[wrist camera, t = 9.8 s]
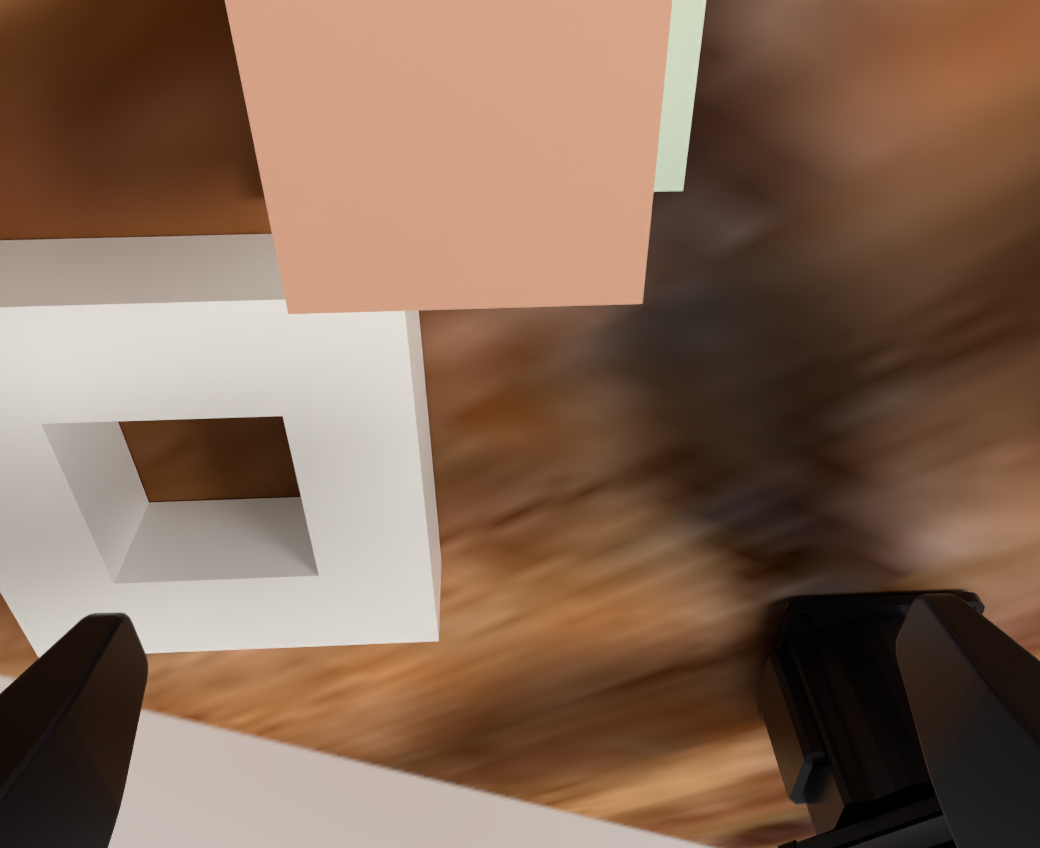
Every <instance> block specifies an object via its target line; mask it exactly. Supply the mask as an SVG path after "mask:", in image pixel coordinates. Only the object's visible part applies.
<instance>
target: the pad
mask: <svg viewBox="0 0 1040 848" xmlns="http://www.w3.org/2000/svg"><path fill="white" fill-rule="evenodd" d="M705 7H706V0H672V9H671V20H670V30H669V40H668V50H667V60H666V70H665V81H664V91H663V101H662V111H661V121H660V131H659V142H658V152H657V162H656V172H655V182H654V192H661V191H683V187H684V179H685V171H686V163H687V154H688V146H689V138H690V130H691V122H692V114H693V105H694V97H695V89H696V81H697V73H698V64H699V56H700V48H701V40H702V32H703V23H704V15H705Z"/></svg>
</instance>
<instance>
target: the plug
mask: <svg viewBox="0 0 1040 848" xmlns="http://www.w3.org/2000/svg"><path fill="white" fill-rule="evenodd" d="M225 5H226V10H227V14H228V19H229V24H230V29H231V34H232V39H233V44H234V49H235V54H236V59H237V64H238V69H239V73H240V78H241V83H242V88H243V93H244V98H245V103H246V108H247V113H248V118H249V123H250V128H251V133H252V137H253V142H254V147H255V152H256V157H257V162H258V167H259V172H260V177H261V182H262V187H263V192H264V197H265V201H266V206H267V211H268V216H269V221H270V226H271V231H272V236H273V241H274V246H275V251H276V256H277V261H278V265H279V270H280V275H281V280H282V285H283V290H284V295H285V300H286V305H287V310H288V314H310V313H345V312H380V311H415V310H449V309H484V308H519V307H554V306H589V305H623V304H643V294H644V284H645V274H646V264H647V253H648V243H649V233H650V223H651V213H652V203H653V192H654V182H655V172H656V162H657V152H658V142H659V131H660V121H661V111H662V101H663V91H664V81H665V70H666V60H667V50H668V40H669V30H670V20H671V9H672V0H225Z"/></svg>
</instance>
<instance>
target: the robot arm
mask: <svg viewBox="0 0 1040 848" xmlns="http://www.w3.org/2000/svg"><path fill="white" fill-rule="evenodd" d="M984 608H985V607H984V605H983V603H982V602H981V600H980V598H979V597H978V595H977V594H975V593H971V592H961V593H936V594H912V595H887V596H863V597H838V598H813V599H800V600H797V601H794V602H792V603H791V604H790V605H789V606H788V607H787V609H786V612H785V615H784V618H783V622H782V625H781V628H780V632H779V635H778V638H777V642H776V645H775V648H774V649H773V650H772V651H771V653H770V654H769V655H768V658H767V662H766V665H765V668H764V672H763V675H762V679H761V682H760V685H759V689H758V692H757V698H758V710H759V714H760V717H761V718H762V720H764V721H765V724H766V727H767V731H768V734H769V737H770V740H771V744H772V747H773V750H774V753H775V757H776V760H777V763H778V766H779V769H780V773H781V776H782V779H783V782H784V786H785V789H786V792H787V795H788V798H789V799H790V800H791V801H793V802H794V803H795V804H796V805H803V804H806V805H807V808H808V811H809V814H810V817H811V820H812V823H813V826H814V829H815V832H816V836H813V837H810V838H807V839H805V840H802V841H799V842H797V841H796V840H792V841H789V842H786V843H783V844H781V845H779V846H778V848H1040V661H1039V660H1038V659H1037V658H1036V657H1034V656H1033V655H1032V654H1031V653H1029V652H1028V651H1027V650H1026V649H1024V648H1023V647H1022V646H1021V645H1019V644H1018V643H1017V642H1016V641H1014V640H1013V639H1012V638H1011V637H1009V636H1008V635H1007V634H1005V633H1004V632H1003V631H1002V630H1000V629H999V628H998V627H997V626H995V625H994V624H993V623H992V622H990V621H989V620H988V619H987V618H985V617H984V616H983V615H982V613H983V611H984ZM147 677H148V661H147V657H146V654H145V651H144V649H143V646H142V644H141V642H140V639H139V637H138V635H137V632H136V630H135V627H134V625H133V623H132V621H131V619H130V617H129V616H128V615H126V614H125V613H93V614H89V615H87V616H86V617H84V618H82V619H81V620H80V621H79V622H78V623H77V624H76V625H74V626H73V627H72V628H71V629H70V630H69V631H68V632H67V633H66V634H65V635H64V636H63V637H61V638H60V639H59V640H58V641H57V642H56V643H55V644H54V645H53V646H52V647H51V648H50V649H48V650H47V651H46V652H45V653H44V654H43V655H42V656H41V657H40V658H39V659H38V660H37V661H35V662H34V663H33V664H32V665H31V666H30V667H29V668H28V669H27V670H26V671H25V672H23V673H22V674H21V675H20V676H19V677H18V678H17V679H16V680H15V681H14V682H13V683H12V684H11V685H9V686H8V687H7V688H6V689H5V690H4V691H3V692H2V693H1V694H0V848H108V845H109V842H110V839H111V836H112V833H113V830H114V826H115V823H116V819H117V816H118V813H119V809H120V806H121V801H122V797H123V793H124V788H125V784H126V778H127V774H128V769H129V764H130V760H131V755H132V750H133V745H134V740H135V735H136V730H137V726H138V721H139V716H140V711H141V707H142V702H143V697H144V692H145V687H146V682H147Z"/></svg>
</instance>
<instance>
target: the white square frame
mask: <svg viewBox="0 0 1040 848" xmlns="http://www.w3.org/2000/svg"><path fill="white" fill-rule="evenodd" d="M272 416H283V420H284V425H285V429H286V433H287V438H288V442H289V447H290V451H291V455H292V460H293V464H294V469H295V473H296V477H297V482H298V486H299V491H300V495H301V497H288V498H260V499H232V500H204V501H175V502H149V501H148V499H147V496H146V494H145V491H144V488H143V486H142V483H141V480H140V478H139V475H138V473H137V470H136V467H135V465H134V462H133V460H132V457H131V454H130V452H129V449H128V446H127V444H126V441H125V439H124V436H123V433H122V431H121V428H120V426H119V423H118V421H148V420H179V419H210V418H241V417H272ZM440 588H441V551H440V540H439V529H438V518H437V507H436V496H435V485H434V474H433V463H432V452H431V441H430V430H429V418H428V407H427V396H426V385H425V374H424V363H423V352H422V341H421V330H420V319H419V310H415V311H380V312H345V313H310V314H288V310H287V305H286V300H285V295H284V290H283V285H282V280H281V275H280V270H279V265H278V261H277V256H276V251H275V246H274V241H273V236H272V234H242V235H201V236H160V237H119V238H78V239H37V240H0V593H1V594H2V596H3V598H4V599H5V601H6V603H7V605H8V606H9V608H10V610H11V611H12V613H13V615H14V616H15V618H16V620H17V622H18V623H19V625H20V627H21V628H22V630H23V632H24V633H25V635H26V637H27V639H28V640H29V642H30V644H31V645H32V647H33V649H34V650H35V652H36V654H37V656H38V657H39V658H40V657H41V656H42V655H43V654H44V653H45V652H46V651H47V650H48V649H50V648H51V647H52V646H53V645H54V644H55V643H56V642H57V641H58V640H59V639H60V638H61V637H63V636H64V635H65V634H66V633H67V632H68V631H69V630H70V629H71V628H72V627H73V626H74V625H76V624H77V623H78V622H79V621H80V620H81V619H82V618H84V617H86V616H87V615H89V614H93V613H125V614H126V615H128V616H129V617H130V619H131V621H132V623H133V625H134V627H135V630H136V632H137V635H138V637H139V639H140V642H141V644H142V646H143V649H144V651H145V654H146V653H170V652H194V651H217V650H241V649H265V648H289V647H313V646H337V645H361V644H384V643H408V642H432V641H439V618H440Z"/></svg>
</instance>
